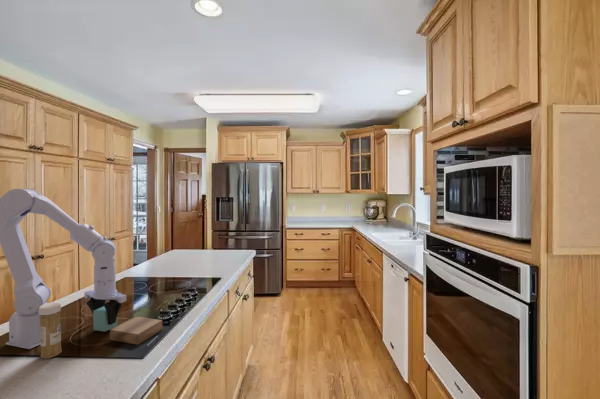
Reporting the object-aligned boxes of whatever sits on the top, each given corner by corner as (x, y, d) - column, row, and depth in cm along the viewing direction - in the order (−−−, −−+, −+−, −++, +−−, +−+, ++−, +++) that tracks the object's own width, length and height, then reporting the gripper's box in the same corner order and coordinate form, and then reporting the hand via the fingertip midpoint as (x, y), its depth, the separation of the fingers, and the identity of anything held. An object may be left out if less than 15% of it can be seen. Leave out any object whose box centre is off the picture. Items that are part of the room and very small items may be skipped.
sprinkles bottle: (61, 356, 84) (59, 305, 84) (38, 361, 82) (37, 309, 81) (62, 348, 88) (61, 300, 88) (41, 353, 86) (39, 303, 85)
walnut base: (110, 339, 93) (109, 329, 93) (136, 325, 103) (136, 316, 103) (138, 344, 90) (137, 334, 90) (162, 329, 100) (162, 320, 100)
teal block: (93, 329, 98) (93, 310, 98) (106, 323, 103) (105, 305, 102) (105, 331, 97) (104, 312, 97) (117, 325, 101) (117, 307, 101)
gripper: (133, 278, 101) (134, 320, 102) (98, 274, 105) (98, 314, 106) (115, 284, 94) (115, 329, 95) (77, 280, 98) (78, 323, 99)
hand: (105, 322), depth 100 cm, fingers closed on teal block, 4 cm apart
